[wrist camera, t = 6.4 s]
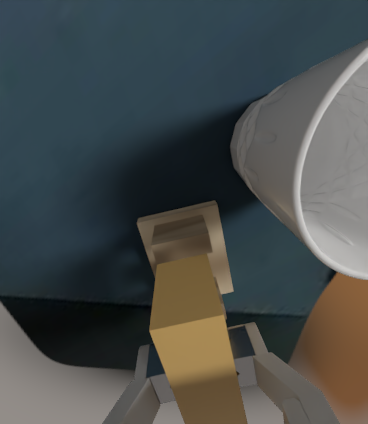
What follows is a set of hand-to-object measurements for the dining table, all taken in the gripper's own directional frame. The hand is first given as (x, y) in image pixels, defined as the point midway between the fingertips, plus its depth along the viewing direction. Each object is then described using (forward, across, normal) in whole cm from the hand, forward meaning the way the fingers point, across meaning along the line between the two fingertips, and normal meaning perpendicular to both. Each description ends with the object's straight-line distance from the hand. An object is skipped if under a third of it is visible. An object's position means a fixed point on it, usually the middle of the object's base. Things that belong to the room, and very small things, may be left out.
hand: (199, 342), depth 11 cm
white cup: (+8, -8, -7) cm, 14 cm away
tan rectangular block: (+2, 0, 0) cm, 2 cm away
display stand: (+8, 0, 0) cm, 8 cm away
